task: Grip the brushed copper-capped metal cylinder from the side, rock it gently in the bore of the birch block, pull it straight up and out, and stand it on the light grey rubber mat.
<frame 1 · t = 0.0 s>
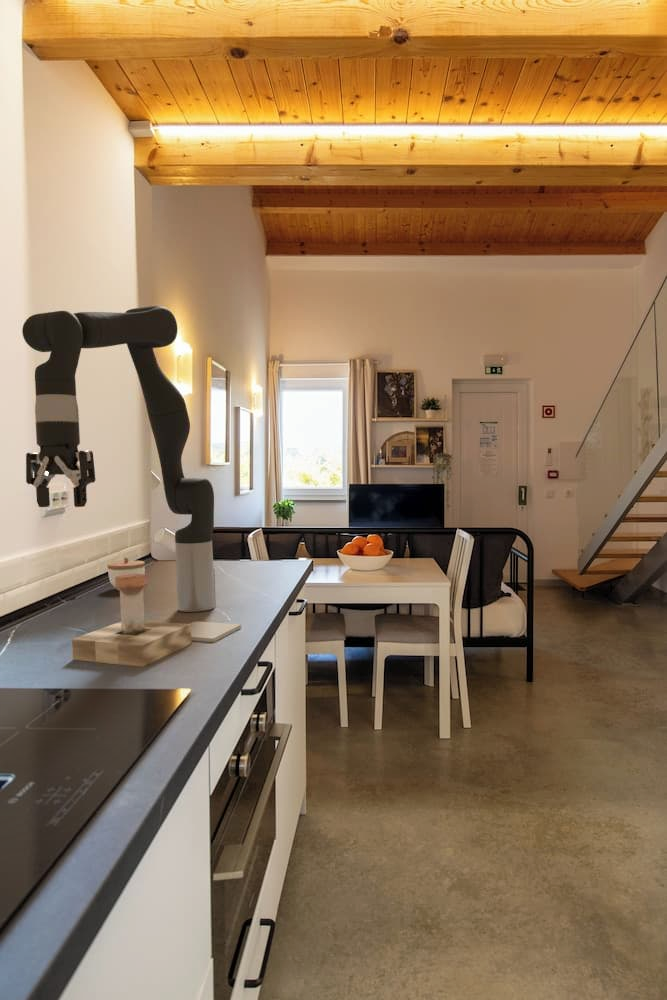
hand: (61, 506, 124), 29 cm above the countertop, tool pointing down, fingers open, 8 cm apart
lidded jar: (127, 589, 198), on the countertop
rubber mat: (203, 633, 143), on the countertop
bore block: (134, 651, 130), on the countertop
copper-capped metal cylinder: (132, 614, 130), in the bore block
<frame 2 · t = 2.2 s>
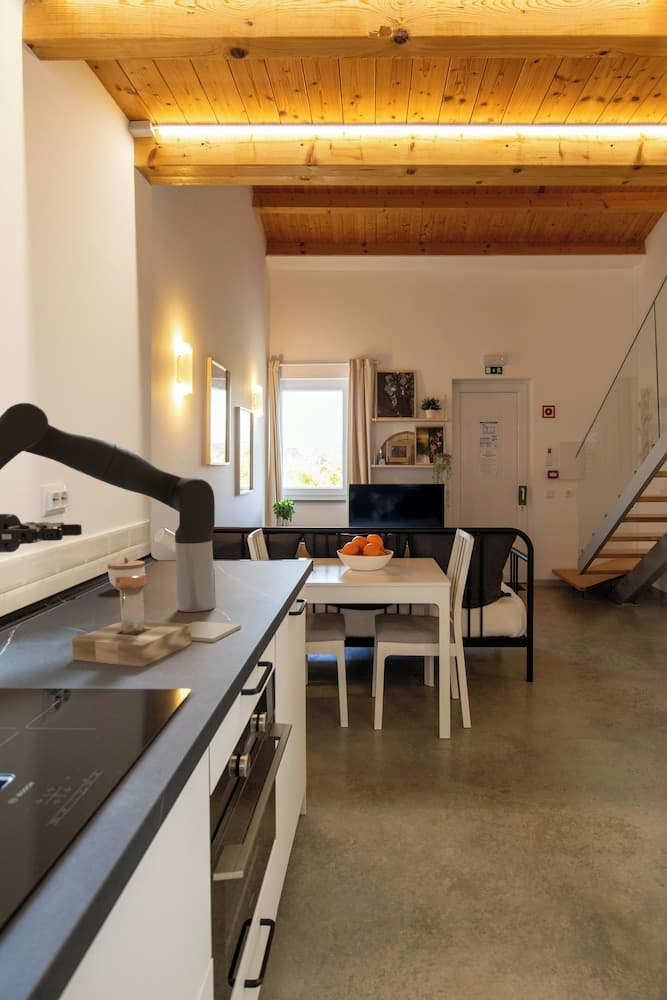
hand: (71, 532, 128), 24 cm above the countertop, tool horizontal, fingers open, 8 cm apart
nothing on the countertop moved.
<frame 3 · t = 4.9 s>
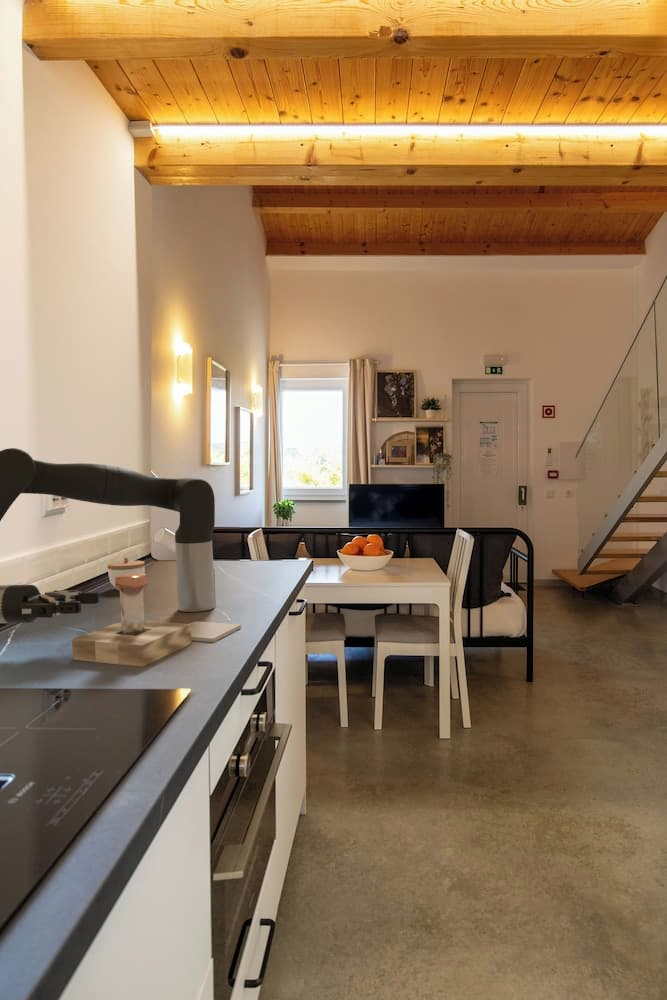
hand: (89, 602, 130), 10 cm above the countertop, tool horizontal, fingers open, 8 cm apart
nothing on the countertop moved.
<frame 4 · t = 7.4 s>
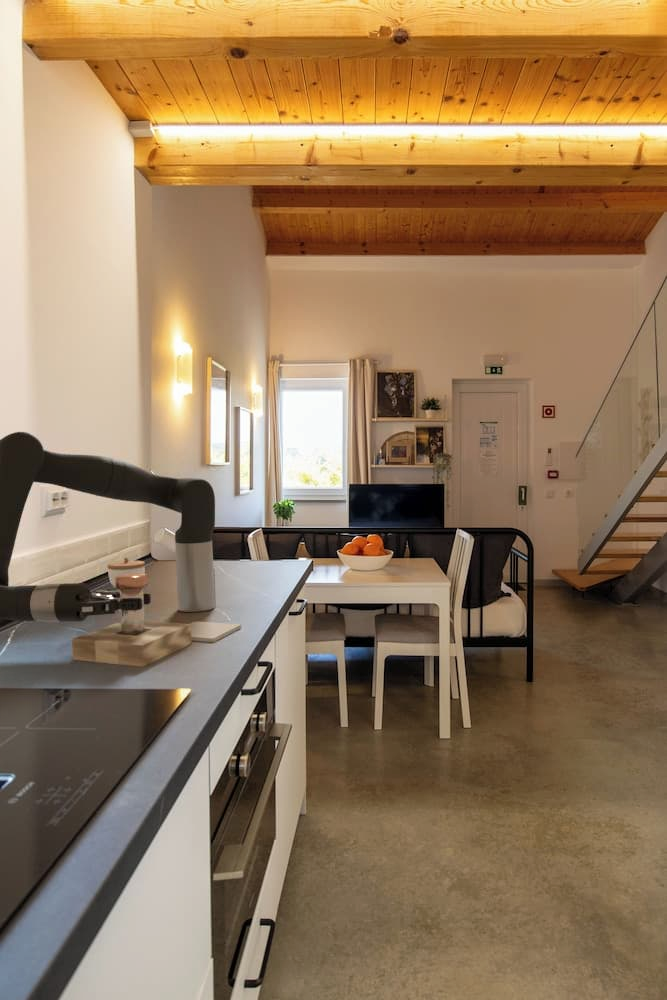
hand: (145, 601, 130), 10 cm above the countertop, tool horizontal, fingers closed on copper-capped metal cylinder, 4 cm apart
copper-capped metal cylinder: (132, 613, 130), in the bore block, touching gripper
everything else where it was.
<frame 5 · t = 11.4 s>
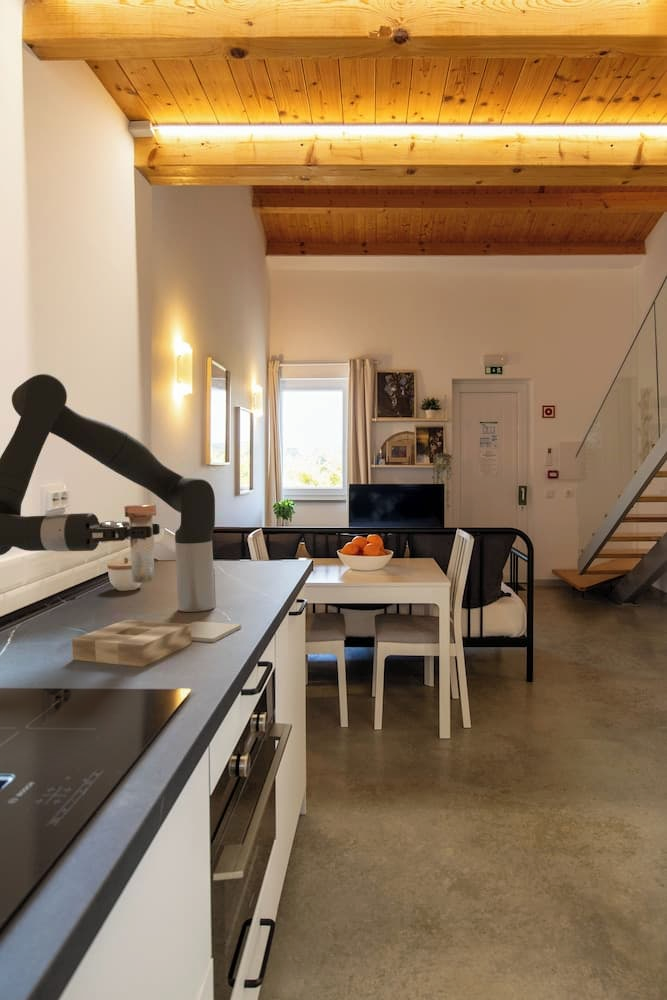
hand: (154, 530, 131), 24 cm above the countertop, tool horizontal, fingers closed on copper-capped metal cylinder, 4 cm apart
copper-capped metal cylinder: (141, 543, 131), point 21 cm above the countertop, touching gripper
everything else where it was.
when the fingers open (12 cm above the countertop, at t = 15.8 s): copper-capped metal cylinder stays where it is, resting on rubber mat.
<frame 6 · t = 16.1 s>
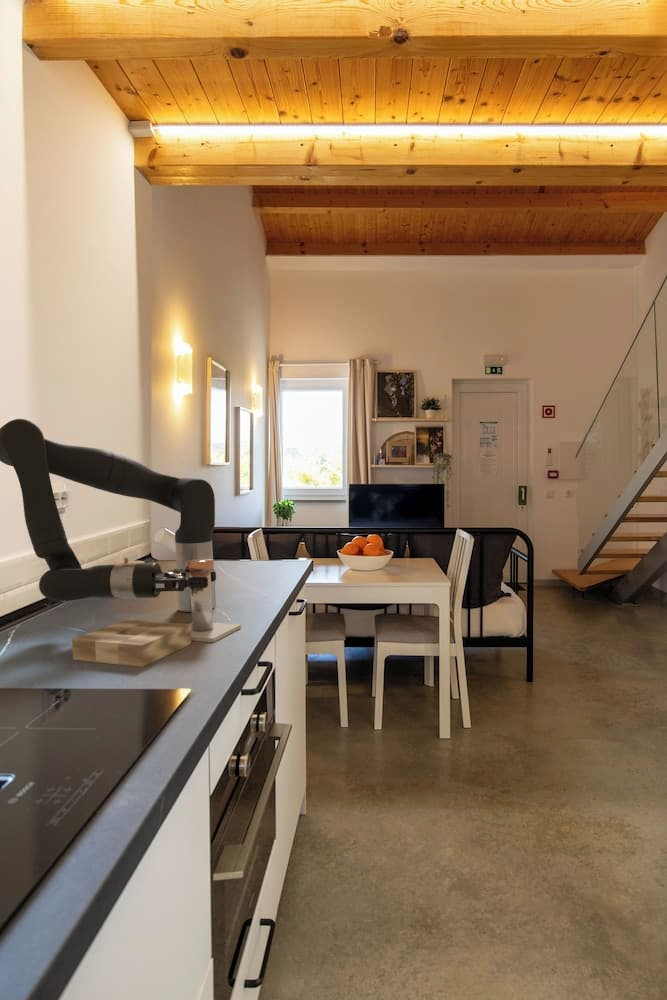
hand: (211, 579, 142), 12 cm above the countertop, tool horizontal, fingers open, 7 cm apart
copper-capped metal cylinder: (201, 595, 143), on the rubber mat, point 8 cm above the countertop
everything else where it was.
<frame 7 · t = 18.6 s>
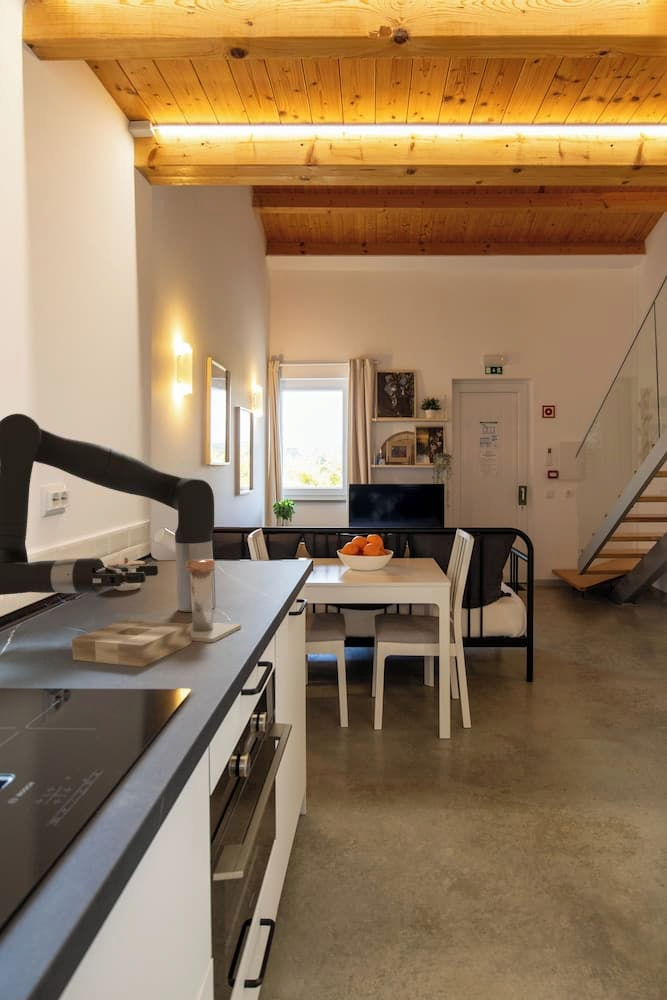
hand: (151, 573, 143), 13 cm above the countertop, tool horizontal, fingers open, 8 cm apart
nothing on the countertop moved.
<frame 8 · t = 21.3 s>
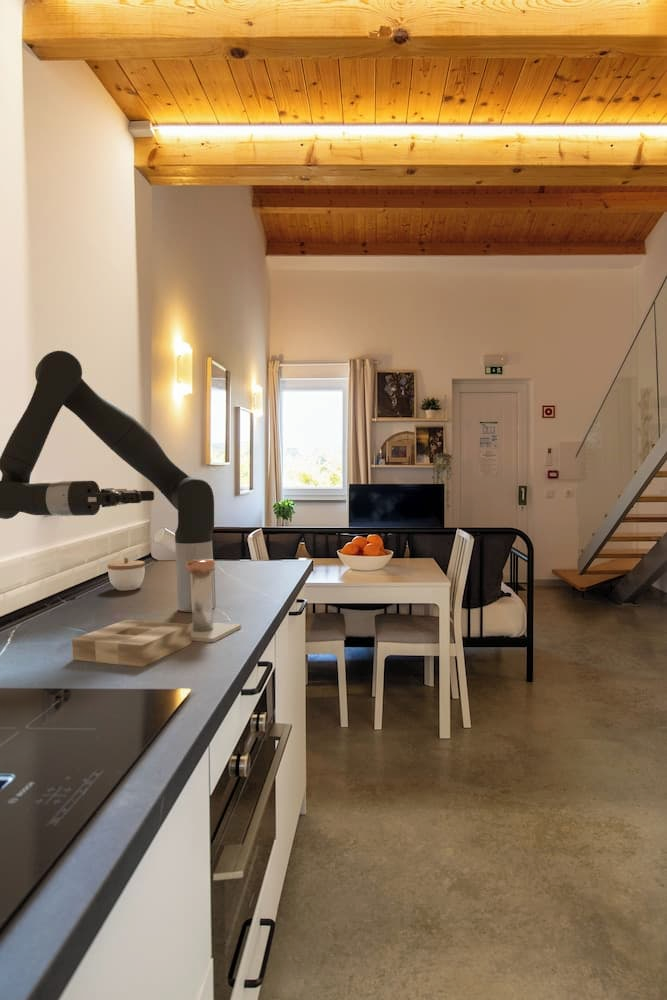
hand: (147, 496, 142), 30 cm above the countertop, tool horizontal, fingers open, 8 cm apart
nothing on the countertop moved.
at the end: copper-capped metal cylinder inside the target area (0.1 cm from its centre), point 8.3 cm above the countertop; copper-capped metal cylinder tilted 0°; the gripper is holding nothing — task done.
